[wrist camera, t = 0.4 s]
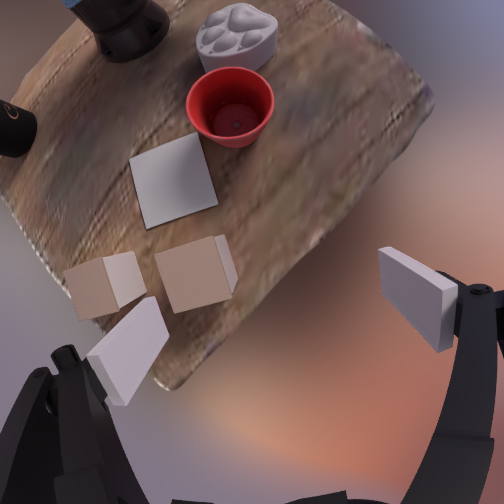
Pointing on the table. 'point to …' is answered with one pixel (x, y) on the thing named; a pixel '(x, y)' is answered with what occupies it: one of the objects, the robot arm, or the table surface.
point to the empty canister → (197, 273)
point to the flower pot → (230, 106)
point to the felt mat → (172, 181)
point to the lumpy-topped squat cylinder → (237, 38)
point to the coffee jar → (16, 130)
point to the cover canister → (104, 284)
